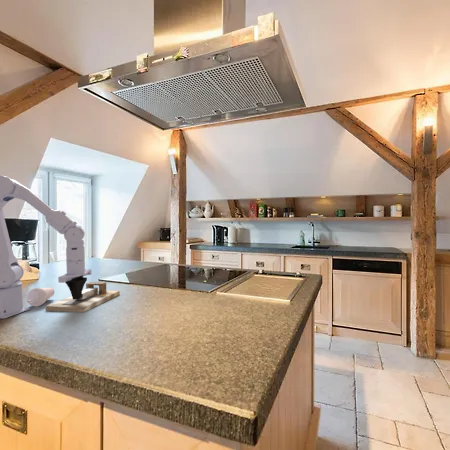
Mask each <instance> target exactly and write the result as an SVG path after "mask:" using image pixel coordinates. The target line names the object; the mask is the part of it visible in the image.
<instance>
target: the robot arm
mask: <svg viewBox="0 0 450 450" xmlns="http://www.w3.org/2000/svg"><path fill="white" fill-rule="evenodd" d="M13 199H19V200H21V201H25V202H26V203H27V204H29V205H30V206H31V207H32V208H34V209H35V210H36V211H38V212H39V213H40V214H42V216H45V223H47V224H48V225H49V226H51V228H53V229H54V230H55V231H56V232H57V233H59V234H60V235H63V237H64V239H65V241H66V247H65V256H66V273H64V274H62V275H60V276H58V279H57V280H58V283H60V284H61V283H65V284H66V286H67V287H68V289H69V291H70V294H71V296H72V298H73V299H76V300H78V299H80V298H81V294H82V290H84V287H85V285H86V283H87V281H88V277H86V276H90V275H92V274H93V273H92V269H91V268H89V269H87V268H86V261H85V242H84V238H85V230H84V229H83V228H82V226H81V225H77V224H78V222H76V221H74V220H72V219H71V218H69V217H68V216H67V213H66V212H65V210H64V211H63V210H62V211H61V210H60V209H53V208H51V207H50V206H49V205H48V204H47V203H46V202H45V201H43V200H42V199H41V197H39V196H38V195H37V194H36V193H34V192H33V191H32V190H31V189H29V188H28V187H26V186H25V185H23V184H21V183H20V182H19V181H18V180H16V179H11V178H10V177H9V176H7V175H0V319H3V320H5V319H8V318H10V317H12V316H15V315H18V314H21V313H23V312H26V311H29V310H30V307H24V306H23V305H24V304H23V303H24V302H23V300H24V299H23V282H22V281H21V279H22V278H23V276H24V268H23V267H22V266H21V265H20V263H19V261H18V258H17V257H16V256H15V255H14V250H13V247H12V243H11V239H10V236H9V235H10V234H9V231H8V227H7V223H6V219H5V216H4V210H3V208H4V207H5V206H6V205H7V204H8V203H9V202H10V201H12V200H13Z"/></svg>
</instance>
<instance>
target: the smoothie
mask: <svg viewBox="0 0 450 450" xmlns="http://www.w3.org/2000/svg"><path fill="white" fill-rule="evenodd" d="M54 295H55V289H54V288H52V287H35V288H33V289H30V290H29V291H28V292H27V294H26V301H27V304H29V305H30V306H31V307H36V308H37V307H41V306H42V305H44V304H45V302H46V301H48V300H50V298H52V297H54Z"/></svg>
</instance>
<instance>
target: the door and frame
mask: <svg viewBox="0 0 450 450" xmlns="http://www.w3.org/2000/svg"><path fill="white" fill-rule="evenodd" d="M85 286H86V287H85V289H88V288H90V287H93V288H95V286H98V293H97V294H95V295H93V296H90V297H88V298H86V299H83V300H76V299H73V298H72V295H71V296H69V297H66V298H64V299H60V300H58V301H55V302H53V303H50V304H47V305H46V306H45V311H48V312H49V311H51V312H72V313H73V312H75V313H77V312H78V313H85V312H86V311H89V310H91V309H93V308H95V307H97V306H100V305H102V304H103V303H105V302H107V301H109V300H112V299H114V298H115V297H118V296H120V293H121V291H120V290H107V282H106V281H90V282H85Z"/></svg>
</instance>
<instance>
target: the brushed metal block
mask: <svg viewBox="0 0 450 450" xmlns="http://www.w3.org/2000/svg"><path fill="white" fill-rule="evenodd" d="M98 290H99V287H94V288H93V287H90V288H88V289H86V288H84V289H83V290H82V294H81V298H80V299H78V300H83V299H86V298H88V297H90V296H93V295H95V294H97V293H98Z"/></svg>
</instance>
